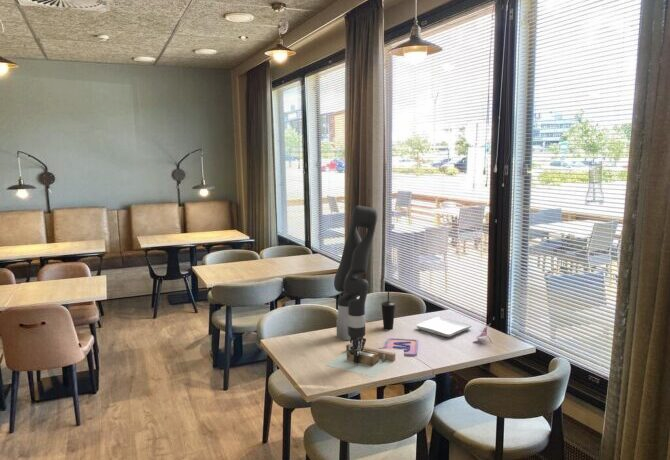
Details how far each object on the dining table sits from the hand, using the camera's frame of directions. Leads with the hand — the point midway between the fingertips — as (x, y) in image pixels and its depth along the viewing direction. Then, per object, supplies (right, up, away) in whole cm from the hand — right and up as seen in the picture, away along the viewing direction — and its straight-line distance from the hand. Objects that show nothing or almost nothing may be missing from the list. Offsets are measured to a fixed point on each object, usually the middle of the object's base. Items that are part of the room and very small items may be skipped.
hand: (356, 362), depth 221 cm
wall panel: (+2, -2, +3) cm, 4 cm away
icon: (+20, +1, +22) cm, 30 cm away
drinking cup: (+19, +5, +48) cm, 52 cm away
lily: (+63, +3, +28) cm, 69 cm away
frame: (+3, 0, +4) cm, 5 cm away
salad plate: (+47, +5, +45) cm, 65 cm away
